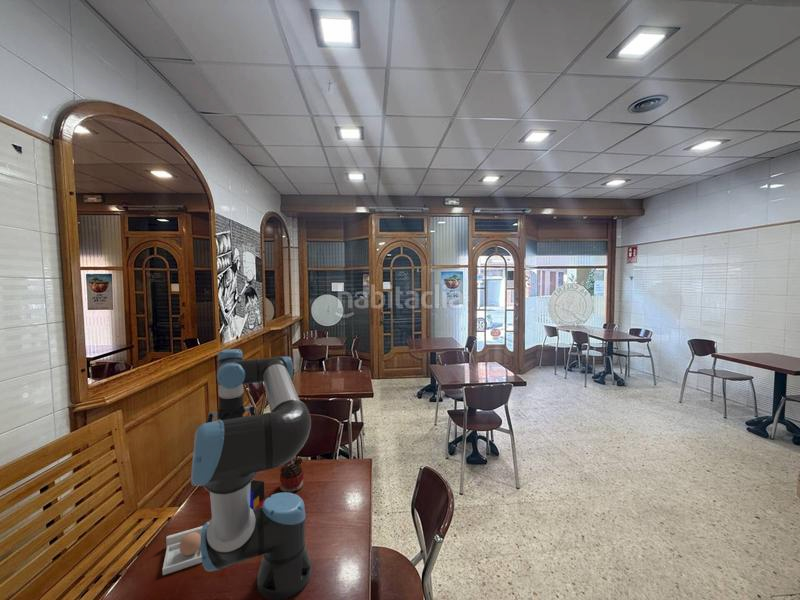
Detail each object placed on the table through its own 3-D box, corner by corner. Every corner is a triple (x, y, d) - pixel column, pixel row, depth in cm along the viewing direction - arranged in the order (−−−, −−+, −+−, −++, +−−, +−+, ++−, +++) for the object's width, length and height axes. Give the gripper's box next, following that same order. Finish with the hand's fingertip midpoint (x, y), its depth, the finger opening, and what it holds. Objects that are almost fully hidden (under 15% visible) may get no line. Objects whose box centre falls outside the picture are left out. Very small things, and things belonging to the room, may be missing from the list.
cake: (289, 496, 137) (289, 453, 136) (274, 489, 141) (273, 448, 141) (309, 483, 146) (308, 443, 145) (293, 477, 151) (293, 438, 150)
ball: (193, 561, 105) (205, 542, 106) (173, 557, 103) (186, 538, 104) (194, 548, 110) (205, 530, 112) (176, 544, 108) (188, 525, 109)
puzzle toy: (248, 524, 121) (247, 497, 121) (223, 520, 123) (223, 494, 122) (264, 506, 131) (264, 481, 130) (241, 503, 133) (241, 478, 132)
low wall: (208, 536, 115) (208, 526, 115) (166, 549, 109) (166, 538, 109) (208, 533, 116) (208, 524, 116) (167, 546, 111) (166, 536, 110)
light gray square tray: (202, 562, 104) (202, 556, 104) (162, 575, 100) (162, 569, 99) (203, 540, 113) (203, 535, 113) (167, 551, 109) (167, 546, 108)
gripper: (267, 386, 124) (268, 443, 124) (187, 398, 110) (189, 462, 111) (271, 392, 117) (272, 451, 118) (187, 405, 104) (189, 472, 105)
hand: (232, 456), depth 114 cm, fingers open, 13 cm apart
